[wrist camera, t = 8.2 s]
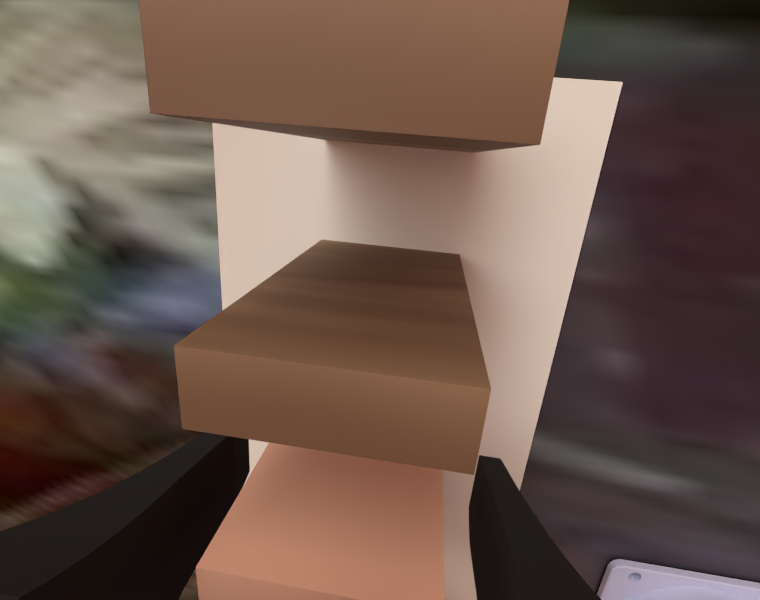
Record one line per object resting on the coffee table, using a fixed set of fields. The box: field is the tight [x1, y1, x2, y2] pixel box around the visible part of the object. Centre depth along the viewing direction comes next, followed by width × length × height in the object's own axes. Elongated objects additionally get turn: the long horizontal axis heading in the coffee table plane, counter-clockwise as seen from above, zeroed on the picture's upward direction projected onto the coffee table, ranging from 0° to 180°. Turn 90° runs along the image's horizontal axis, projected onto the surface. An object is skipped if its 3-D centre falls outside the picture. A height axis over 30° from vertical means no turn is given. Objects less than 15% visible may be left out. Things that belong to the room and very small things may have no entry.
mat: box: [212, 78, 623, 600], centre depth 17 cm, size 13×25×1 cm, turn 175°
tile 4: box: [174, 239, 491, 475], centre depth 11 cm, size 2×5×9 cm, turn 86°
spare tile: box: [196, 443, 445, 600], centre depth 12 cm, size 2×5×9 cm, turn 85°
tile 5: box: [139, 0, 569, 153], centre depth 9 cm, size 2×5×9 cm, turn 85°
